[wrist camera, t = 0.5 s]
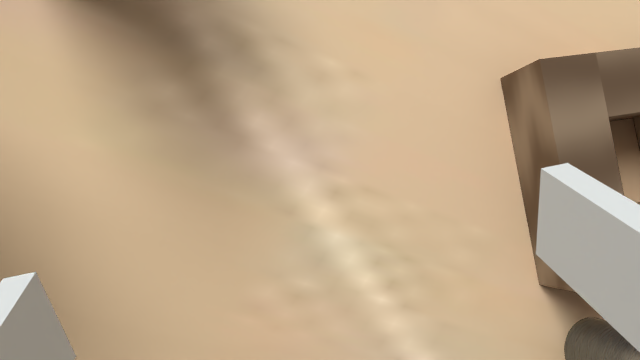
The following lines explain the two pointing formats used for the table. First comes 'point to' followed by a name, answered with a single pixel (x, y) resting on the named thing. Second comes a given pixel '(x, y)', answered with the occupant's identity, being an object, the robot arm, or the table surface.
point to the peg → (597, 342)
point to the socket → (569, 123)
